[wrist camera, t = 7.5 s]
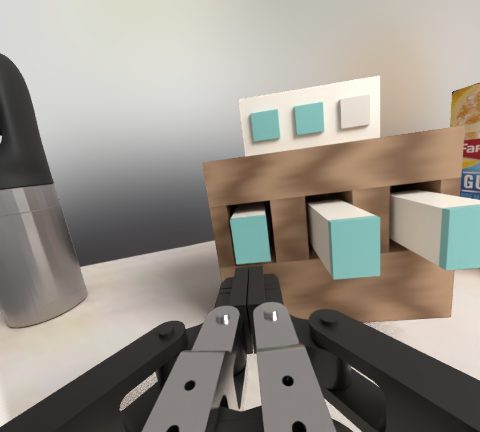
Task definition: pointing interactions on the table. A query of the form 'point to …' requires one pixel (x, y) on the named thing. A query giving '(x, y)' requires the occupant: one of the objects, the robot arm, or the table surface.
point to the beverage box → (468, 137)
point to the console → (350, 191)
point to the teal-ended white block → (250, 233)
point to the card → (311, 116)
